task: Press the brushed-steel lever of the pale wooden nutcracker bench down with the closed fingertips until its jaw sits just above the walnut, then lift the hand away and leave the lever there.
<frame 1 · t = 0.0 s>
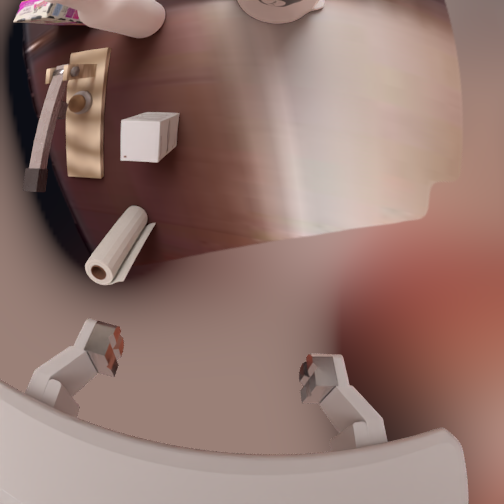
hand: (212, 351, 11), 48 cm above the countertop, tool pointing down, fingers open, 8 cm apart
lever: (49, 126, 34), point 14 cm above the countertop, hinge at -25.0°
candy bar box: (78, 16, 31), on the countertop
nutcracker bench: (86, 113, 46), on the countertop
paper towel roll: (138, 217, 61), on the countertop
supplement box: (162, 128, 49), on the countertop
alcohol: (146, 20, 35), on the countertop
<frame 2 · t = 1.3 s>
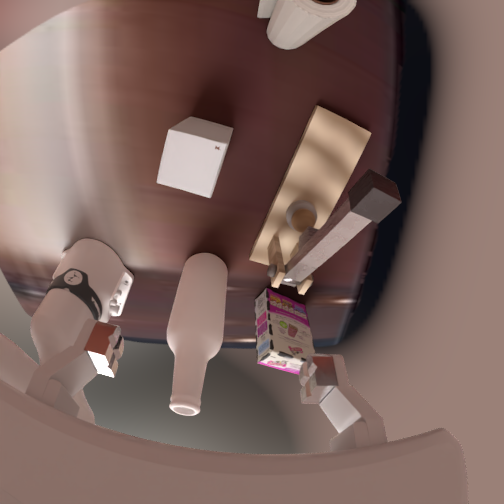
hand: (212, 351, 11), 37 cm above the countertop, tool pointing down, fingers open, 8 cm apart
lever: (325, 236, 35), point 14 cm above the countertop, hinge at -25.0°
candy bar box: (280, 302, 61), on the countertop
nutcracker bench: (306, 195, 46), on the countertop
paper towel roll: (284, 30, 30), on the countertop
supplement box: (205, 142, 41), on the countertop
alcohol: (206, 268, 55), on the countertop
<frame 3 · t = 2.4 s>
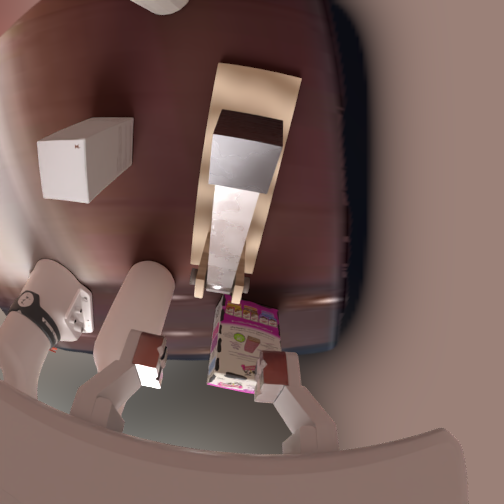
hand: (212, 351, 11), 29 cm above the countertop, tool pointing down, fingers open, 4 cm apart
lever: (229, 226, 25), point 14 cm above the countertop, hinge at -25.0°
candy bar box: (247, 308, 51), on the countertop
nutcracker bench: (237, 176, 36), on the countertop
supplement box: (111, 140, 33), on the countertop
alcohol: (153, 277, 47), on the countertop
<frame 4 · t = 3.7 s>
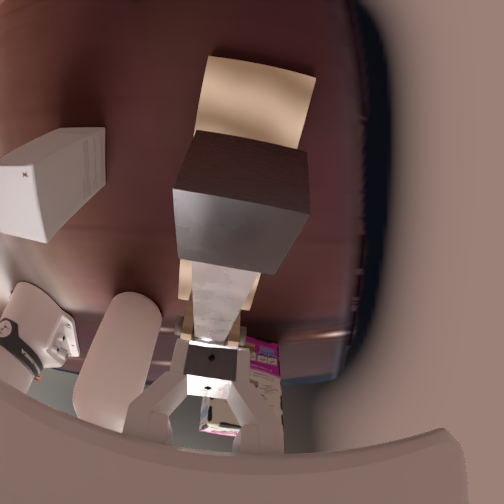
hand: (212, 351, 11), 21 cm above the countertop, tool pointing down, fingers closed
lever: (219, 284, 19), point 14 cm above the countertop, hinge at -25.0°
candy bar box: (243, 342, 45), on the countertop
nutcracker bench: (232, 200, 30), on the countertop
supplement box: (82, 155, 26), on the countertop
alcohol: (137, 308, 40), on the countertop
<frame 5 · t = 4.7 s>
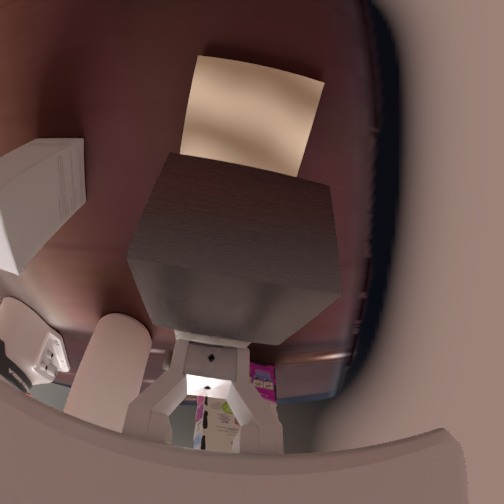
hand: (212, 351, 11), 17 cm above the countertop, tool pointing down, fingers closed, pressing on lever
lever: (210, 328, 16), point 13 cm above the countertop, hinge at -22.7°, touching gripper
candy bar box: (238, 364, 41), on the countertop
nutcracker bench: (225, 222, 27), on the countertop
supplement box: (60, 168, 23), on the countertop
alcohol: (126, 329, 37), on the countertop
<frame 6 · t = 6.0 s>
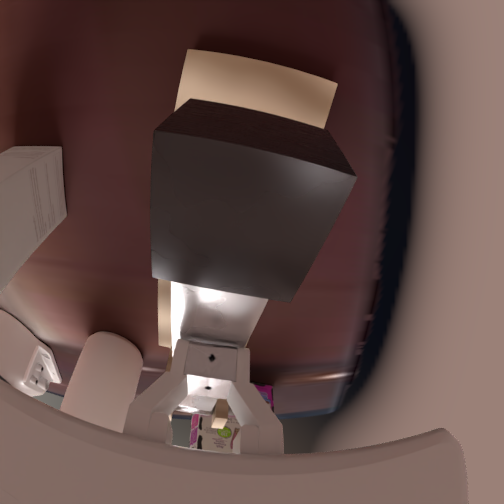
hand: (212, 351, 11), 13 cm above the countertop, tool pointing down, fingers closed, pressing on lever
lever: (205, 340, 14), point 11 cm above the countertop, hinge at -9.3°, touching gripper
candy bar box: (234, 383, 38), on the countertop
nutcracker bench: (220, 242, 24), on the countertop
supplement box: (39, 179, 20), on the countertop
alcohol: (116, 347, 34), on the countertop
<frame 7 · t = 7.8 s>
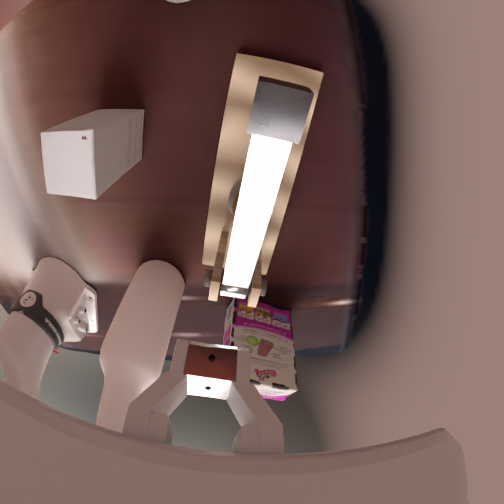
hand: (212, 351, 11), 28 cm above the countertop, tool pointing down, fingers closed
lever: (253, 206, 26), point 11 cm above the countertop, hinge at -9.3°
candy bar box: (258, 310, 50), on the countertop
nutcracker bench: (254, 173, 35), on the countertop
supplement box: (120, 133, 31), on the countertop
alcohol: (161, 277, 46), on the countertop
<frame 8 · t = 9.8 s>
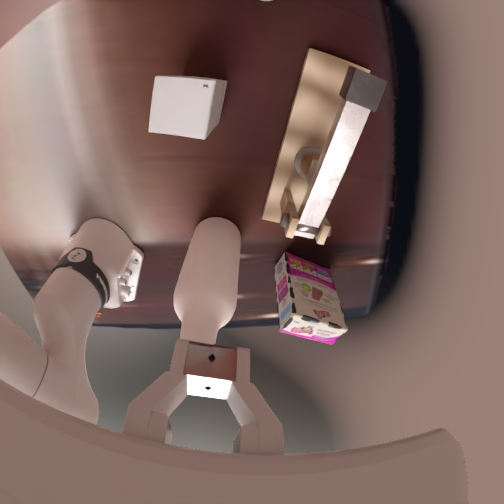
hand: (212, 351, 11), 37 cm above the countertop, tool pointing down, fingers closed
lever: (332, 157, 32), point 11 cm above the countertop, hinge at -9.3°
candy bar box: (301, 268, 56), on the countertop
nutcracker bench: (313, 142, 41), on the countertop
supplement box: (200, 99, 37), on the countertop
alcohol: (217, 235, 51), on the countertop
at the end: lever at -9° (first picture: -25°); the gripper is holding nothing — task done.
